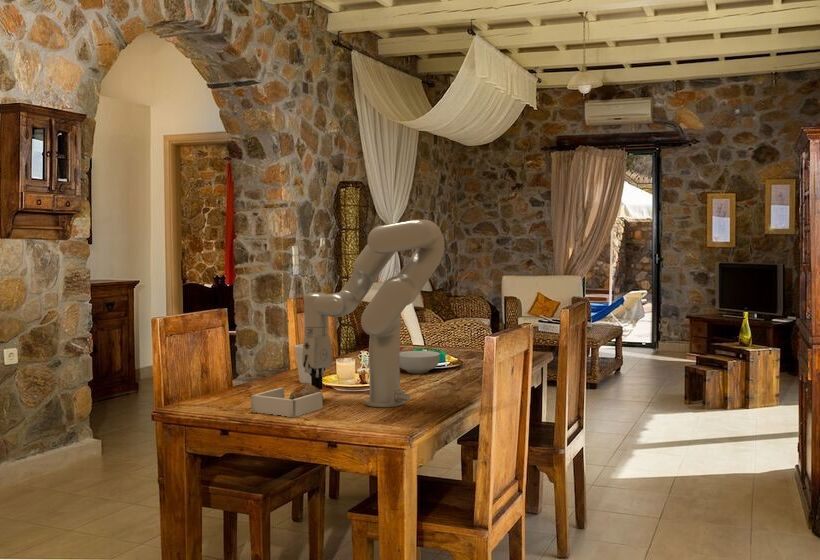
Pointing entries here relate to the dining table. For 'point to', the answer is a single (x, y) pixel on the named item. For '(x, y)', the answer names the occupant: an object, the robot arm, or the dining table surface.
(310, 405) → the bin
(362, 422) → the dining table surface
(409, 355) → the cereal bowl
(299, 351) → the foam cup
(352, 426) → the dining table surface
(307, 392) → the bread roll
